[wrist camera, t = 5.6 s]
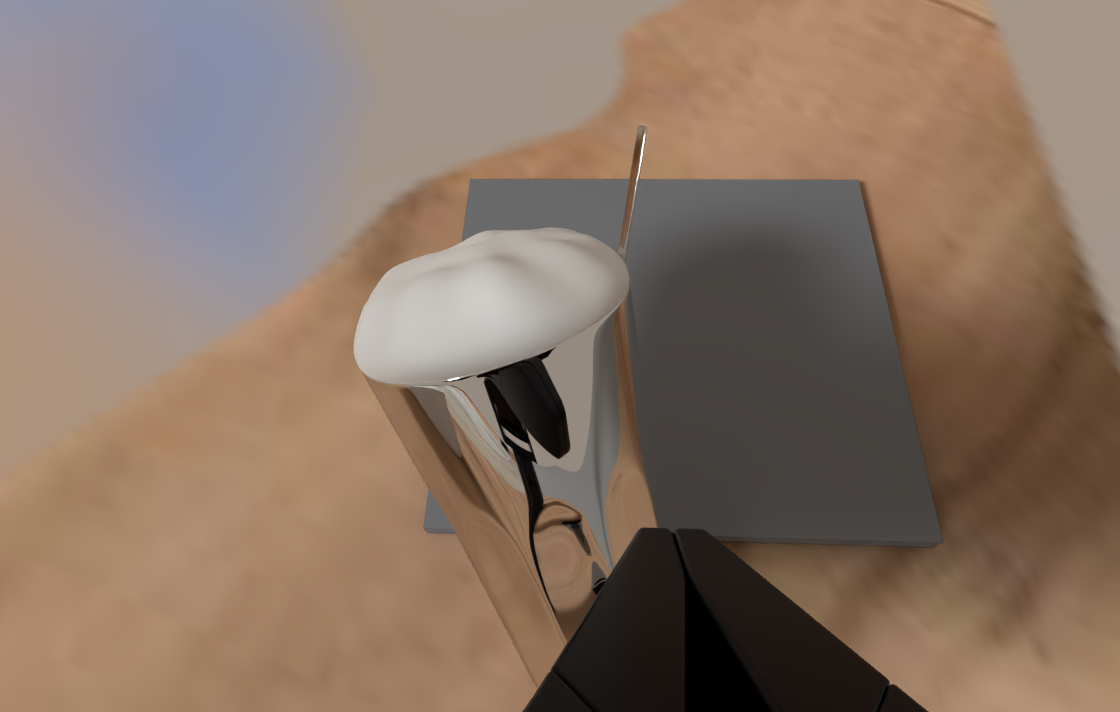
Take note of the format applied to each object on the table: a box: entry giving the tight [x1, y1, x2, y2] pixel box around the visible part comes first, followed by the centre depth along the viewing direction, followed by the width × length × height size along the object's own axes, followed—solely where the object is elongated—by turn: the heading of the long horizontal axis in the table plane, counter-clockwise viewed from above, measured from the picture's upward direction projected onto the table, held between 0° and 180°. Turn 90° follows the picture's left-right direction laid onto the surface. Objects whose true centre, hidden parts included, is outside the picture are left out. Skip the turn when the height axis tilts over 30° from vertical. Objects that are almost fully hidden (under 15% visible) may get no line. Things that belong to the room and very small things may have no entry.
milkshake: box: [354, 126, 667, 689], centre depth 12 cm, size 4×5×10 cm
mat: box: [424, 179, 943, 547], centre depth 18 cm, size 11×12×1 cm
